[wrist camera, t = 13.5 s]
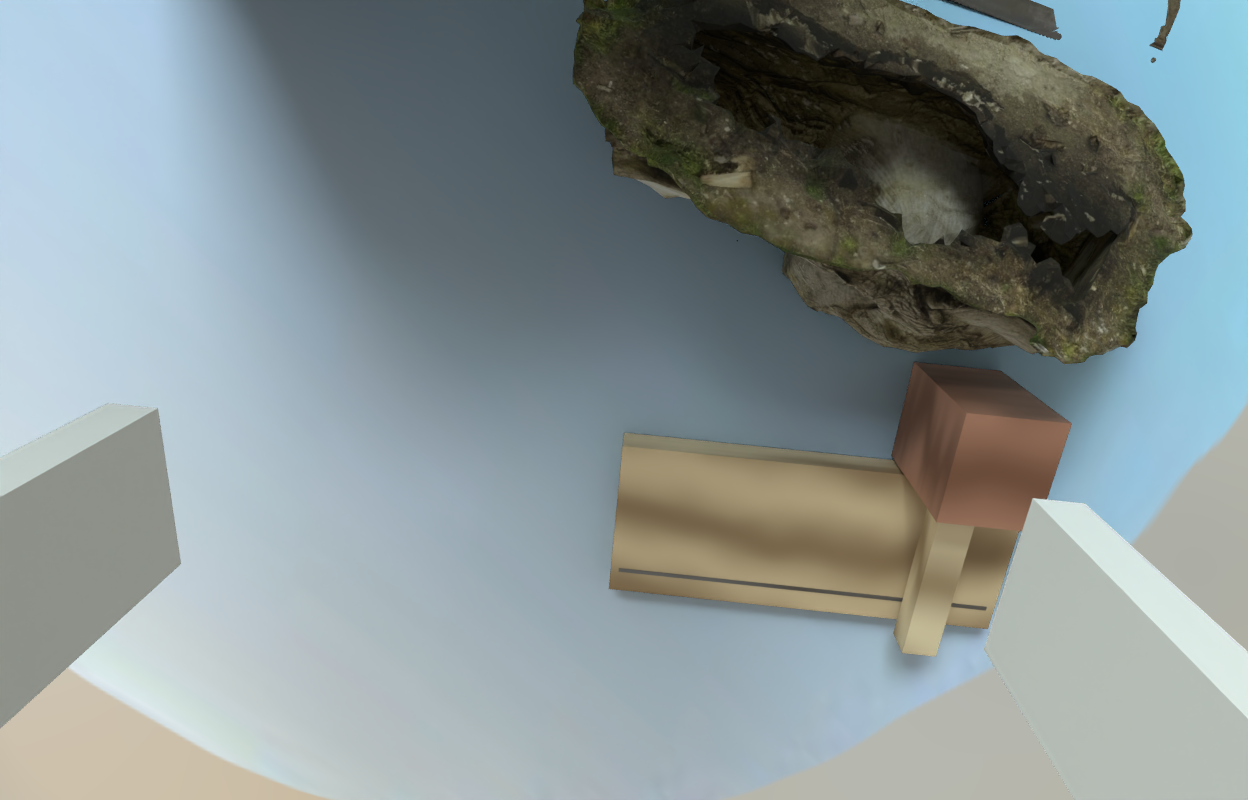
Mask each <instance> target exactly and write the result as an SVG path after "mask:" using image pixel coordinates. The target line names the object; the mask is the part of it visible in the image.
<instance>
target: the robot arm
mask: <svg viewBox="0 0 1248 800" xmlns="http://www.w3.org/2000/svg"><path fill="white" fill-rule="evenodd" d="M180 564H181V561H180V554H179V547H178V541H177V534H176V527H175V520H174V514H173V507H172V500H171V493H170V487H169V480H168V473H167V467H166V460H165V453H164V446H163V440H162V433H161V426H160V419H159V413H158V408H150V407H141V406H131V405H121V404H111V403H107V404H105V405H103V406H101V407H99V408H97V409H95V410H93V411H91V412H89V413H87V414H85V415H83V416H82V417H80V418H78V419H76V420H74V421H72V422H70V423H68V424H66V425H64V426H62V427H60V428H58V429H56V430H54V431H52V432H50V433H48V434H46V435H44V436H42V437H40V438H38V439H36V440H34V441H32V442H30V443H28V444H26V445H24V446H22V447H20V448H18V449H16V450H14V451H12V452H10V453H8V454H6V455H4V456H2V457H0V728H1V727H3V726H4V725H5V724H6V723H7V722H8V721H9V720H10V719H11V718H12V717H14V716H15V715H16V714H17V713H18V712H19V711H20V710H21V709H22V708H23V707H24V706H25V705H27V704H28V703H29V702H30V701H31V700H32V699H33V698H34V697H35V696H37V695H38V694H39V693H40V692H41V691H42V690H43V689H44V688H45V687H46V686H47V685H48V684H50V683H51V682H52V681H53V680H54V679H55V678H56V677H57V676H58V675H60V674H61V673H62V672H63V671H64V670H65V669H66V668H67V667H68V666H69V665H71V664H72V663H73V662H74V661H75V660H76V659H77V658H78V657H79V656H80V655H82V654H83V653H84V652H85V651H86V650H87V649H88V648H89V647H90V646H91V645H93V644H94V643H95V642H96V641H97V640H98V639H99V638H100V637H101V636H102V635H104V634H105V633H106V632H107V631H108V630H109V629H110V628H111V627H112V626H113V625H114V624H116V623H117V622H118V621H119V620H120V619H121V618H122V617H123V616H124V615H125V614H127V613H128V612H129V611H130V610H131V609H132V608H133V607H134V606H135V605H136V604H138V603H139V602H140V601H141V600H142V599H143V598H144V597H145V596H146V595H147V594H149V593H150V592H151V591H152V590H153V589H154V588H155V587H156V586H157V585H158V584H159V583H161V582H162V581H163V580H164V579H165V578H166V577H167V576H168V575H169V574H170V573H172V572H173V571H174V570H175V569H176V568H177V567H178V566H179V565H180ZM984 651H985V652H986V654H987V656H988V657H989V659H990V661H991V662H992V664H993V666H994V667H995V669H996V671H997V672H998V674H999V676H1000V677H1001V679H1002V680H1003V682H1004V684H1005V685H1006V687H1007V689H1008V690H1009V692H1010V694H1011V695H1012V697H1013V699H1014V700H1015V702H1016V704H1017V705H1018V707H1019V709H1020V710H1021V712H1022V714H1023V715H1024V717H1025V719H1026V720H1027V722H1028V724H1029V725H1030V727H1031V729H1032V730H1033V732H1034V734H1035V735H1036V737H1037V739H1038V740H1039V742H1040V743H1041V745H1042V747H1043V749H1044V750H1045V752H1046V754H1047V755H1048V757H1049V759H1050V760H1051V762H1052V763H1053V765H1054V767H1055V768H1056V770H1057V772H1058V773H1059V775H1060V777H1061V778H1062V780H1063V782H1064V783H1065V785H1066V786H1067V788H1068V790H1069V792H1070V793H1071V795H1072V797H1073V798H1074V800H1248V652H1247V651H1246V650H1245V649H1244V648H1243V647H1242V646H1241V645H1240V644H1239V643H1238V642H1236V641H1235V640H1234V639H1233V638H1232V637H1231V636H1230V635H1229V634H1228V633H1227V632H1226V631H1224V630H1223V629H1222V628H1221V627H1220V626H1219V625H1218V624H1217V623H1216V622H1215V621H1213V620H1212V619H1211V618H1210V617H1209V616H1208V615H1207V614H1206V613H1205V612H1203V611H1202V610H1201V609H1200V608H1199V607H1198V606H1197V605H1196V604H1195V603H1194V602H1193V601H1191V600H1190V599H1189V598H1188V597H1187V596H1186V595H1185V594H1184V593H1183V592H1181V591H1180V590H1179V589H1178V588H1177V587H1176V586H1175V585H1174V584H1173V583H1172V582H1170V580H1168V579H1167V578H1166V577H1165V576H1164V575H1163V574H1162V573H1161V572H1159V570H1157V569H1156V568H1155V567H1154V566H1153V565H1152V564H1151V563H1150V562H1148V560H1146V559H1145V558H1144V557H1143V556H1142V555H1141V554H1140V553H1139V552H1137V551H1136V550H1135V549H1134V548H1133V547H1132V546H1131V545H1130V544H1129V543H1128V542H1127V541H1126V540H1124V539H1123V538H1122V537H1121V536H1120V535H1119V534H1118V533H1117V532H1116V531H1115V530H1113V529H1112V528H1111V527H1110V526H1109V525H1108V524H1107V523H1106V522H1105V521H1104V520H1103V519H1101V518H1100V517H1099V516H1098V515H1097V514H1096V513H1095V512H1094V511H1093V510H1092V509H1090V508H1089V507H1088V506H1087V505H1086V504H1085V503H1075V502H1065V501H1055V500H1046V499H1036V498H1033V499H1032V502H1031V505H1030V508H1029V511H1028V514H1027V517H1026V521H1025V524H1024V527H1023V530H1022V533H1021V536H1020V539H1019V542H1018V545H1017V548H1016V551H1015V555H1014V558H1013V561H1012V564H1011V567H1010V570H1009V573H1008V576H1007V579H1006V582H1005V586H1004V589H1003V592H1002V595H1001V598H1000V601H999V604H998V607H997V610H996V613H995V617H994V620H993V623H992V626H991V629H990V632H989V635H988V638H987V641H986V644H985V648H984Z"/></svg>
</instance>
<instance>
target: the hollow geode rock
mask: <svg viewBox="0 0 1248 800" xmlns="http://www.w3.org/2000/svg"><path fill="white" fill-rule="evenodd" d="M583 2H584V12H583V13H582V14H581V15H580V16H579V18H578V19H577V20H576V22H577V23H579V24H580V28H579V31H578V33H577V41H576V45H575V50H574V67H573V84H574V85H575V86H576V87H577V88H579V89H580V90H581V91H582V92H583V94H584V95H585V97H586V99H587V101H588V103H589V104H590V107H591V109H592V111H593V113H594V114H595V116H596V118H597V119H598V121H599V122H600V124H601V126H603V127H604V128H605V135H606V141H610V142H611V146H612V147H613V153H612V163H613V171H614V175H617V176H623V177H628V178H633V179H636V180H638V181H640V182H642V183H644V184H646V185H648V186H649V187H651V188H652V189H653V190H655V191H656V192H657V193H659V194H660V195H661V196H663V197H664V198H665V199H667V198H673V197H683V198H686V199H691V200H692V202H693V203H694V204H695V206H696V207H697V208H698V209H699V210H700V211H701V212H702V213H703V214H704V215H705V216H706V217H707V218H710V219H714V220H717V221H720V222H724V223H727V224H729V225H730V226H732V227H733V228H735V229H736V230H738V231H739V232H741V233H745V234H750V235H756V236H759V237H760V238H762V239H764V240H766V241H767V242H769V243H771V244H772V245H774V246H776V247H777V248H779V249H781V250H782V251H784V252H786V253H785V255H784V258H783V267H782V273H783V274H784V275H785V276H786V277H787V278H788V279H790V280H791V282H792V284H793V286H794V287H795V289H796V291H797V292H798V294H799V295H800V297H801V298H802V300H803V301H804V302H805V304H806V305H807V306H808V307H810V308H812V309H814V310H815V311H822V312H824V313H826V314H831V315H835V316H838V317H840V318H842V319H843V320H844V321H845V322H846V323H848V324H849V325H850V326H851V327H852V328H854V329H855V330H856V331H857V332H858V333H859V334H861V335H862V336H863V337H865V338H867V339H869V340H871V341H873V342H875V343H877V344H879V345H881V346H883V347H893V348H898V349H903V350H907V351H911V352H916V353H918V352H925V351H935V350H943V349H953V348H956V349H961V350H977V349H983V348H988V347H991V348H995V347H1002V346H1011V345H1016V346H1018V347H1020V348H1021V349H1023V350H1025V351H1027V352H1029V353H1031V354H1034V353H1037V352H1039V353H1040V354H1041V355H1042V356H1051V357H1056V358H1057V359H1058V360H1060V361H1061V362H1062V363H1063V364H1072V363H1081V362H1085V361H1086V359H1087V358H1088V357H1089V356H1093V355H1103V354H1104V353H1106V352H1108V351H1111V350H1113V349H1115V348H1117V347H1120V346H1121V347H1125V348H1127V347H1128V346H1130V345H1131V344H1132V343H1133V342H1134V341H1135V338H1136V335H1137V332H1136V329H1135V327H1136V322H1137V317H1138V313H1139V309H1140V308H1141V307H1143V306H1144V305H1145V304H1147V294H1148V291H1149V290H1150V288H1151V287H1152V285H1153V281H1154V276H1155V272H1156V269H1157V267H1158V265H1159V264H1160V263H1161V262H1162V261H1163V260H1164V259H1165V258H1166V257H1168V256H1169V255H1170V254H1172V253H1174V252H1177V251H1179V250H1181V249H1184V248H1185V247H1186V245H1187V243H1188V242H1189V241H1190V239H1191V236H1192V229H1191V227H1190V226H1189V225H1188V223H1187V222H1186V221H1185V220H1184V219H1182V218H1181V215H1182V214H1183V213H1184V212H1185V202H1186V201H1185V199H1184V197H1183V191H1184V187H1185V184H1184V178H1183V174H1182V172H1181V171H1180V169H1179V167H1178V165H1177V164H1176V162H1175V161H1174V159H1173V157H1172V156H1171V155H1170V154H1169V152H1168V151H1167V149H1166V147H1165V140H1164V138H1163V137H1162V135H1161V133H1160V132H1159V130H1158V129H1157V127H1156V126H1155V124H1154V123H1153V122H1152V121H1151V120H1150V119H1149V118H1148V117H1147V116H1146V115H1145V114H1144V113H1143V111H1142V110H1141V109H1140V107H1139V106H1136V105H1134V104H1132V103H1130V102H1128V101H1127V100H1126V99H1125V98H1124V97H1123V95H1122V94H1121V92H1119V91H1118V90H1117V89H1115V88H1113V87H1112V86H1110V85H1108V84H1106V83H1104V82H1103V81H1101V80H1099V79H1097V78H1094V77H1092V76H1087V75H1082V74H1080V73H1078V72H1076V71H1074V70H1073V69H1071V68H1070V67H1068V66H1067V65H1065V64H1063V63H1062V62H1060V61H1059V60H1058V59H1057V58H1054V57H1050V56H1047V55H1044V54H1043V53H1041V52H1039V51H1038V50H1037V48H1036V47H1035V46H1034V45H1033V44H1032V43H1031V42H1030V41H1028V40H1025V39H1023V38H1021V37H1019V36H1017V35H1015V36H1001V35H998V34H995V33H992V32H989V31H985V30H982V29H979V28H975V27H970V26H961V25H956V24H952V23H950V22H948V21H946V20H944V19H942V18H939V17H937V16H935V15H933V14H932V13H930V12H928V11H927V10H925V9H922V8H920V7H918V6H915V5H911V4H908V3H905V2H902V1H900V0H607V1H606V2H605V1H604V0H583ZM999 195H1001V196H1000V197H999V198H998V199H996V200H995V201H993V202H992V203H990V204H989V205H987V206H986V207H985V208H984V205H983V203H984V202H987V201H989V200H991V199H993V198H995V197H997V196H999ZM983 218H986V219H988V222H987V226H985V223H984V220H983ZM737 241H738V240H737Z"/></svg>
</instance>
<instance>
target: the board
mask: <svg viewBox="0 0 1248 800" xmlns="http://www.w3.org/2000/svg"><path fill="white" fill-rule="evenodd" d="M926 510H927V507H926V506H925V505H924V503H923V502H922V500H921V499H920V497H919V496H918V494H917V493H916V491H915V490H914V488H913V487H912V485H911V484H910V482H909V481H908V479H907V478H906V476H905V475H904V473H903V472H902V470H901V469H900V468H899V466H898V465H897V463H896V462H895V460H888V459H878V458H868V457H859V456H849V455H839V454H829V453H819V452H810V451H800V450H790V449H780V448H770V447H761V446H751V445H741V444H731V443H721V442H712V441H702V440H692V439H682V438H673V437H663V436H653V435H643V434H633V433H624V440H623V448H622V458H621V468H620V479H619V489H618V500H617V510H616V521H615V531H614V542H613V552H612V562H611V573H610V583H609V589H616V590H625V591H635V592H644V593H654V594H663V595H673V596H682V597H691V598H701V599H710V600H720V601H729V602H738V603H748V604H757V605H767V606H776V607H786V608H795V609H804V610H814V611H823V612H833V613H842V614H852V615H861V616H870V617H880V618H889V619H897V618H898V615H899V611H900V607H901V603H902V600H903V596H904V592H905V589H906V585H907V581H908V577H909V574H910V570H911V566H912V562H913V559H914V555H915V551H916V548H917V544H918V540H919V536H920V533H921V529H922V525H923V521H924V518H925V514H926ZM1018 533H1019V531H1014V530H1005V529H995V528H986V527H976V526H975V527H974V530H973V533H972V537H971V540H970V543H969V547H968V550H967V554H966V557H965V560H964V564H963V567H962V570H961V574H960V577H959V580H958V584H957V587H956V591H955V594H954V597H953V601H952V604H951V607H950V611H949V614H948V617H947V621H946V625H955V626H965V627H974V628H983V629H988V627H989V623H990V620H991V617H992V614H993V611H994V608H995V605H996V602H997V599H998V595H999V592H1000V589H1001V586H1002V583H1003V580H1004V577H1005V574H1006V571H1007V567H1008V564H1009V561H1010V558H1011V555H1012V552H1013V549H1014V546H1015V543H1016V539H1017V536H1018Z"/></svg>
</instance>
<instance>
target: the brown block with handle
mask: <svg viewBox="0 0 1248 800" xmlns="http://www.w3.org/2000/svg"><path fill="white" fill-rule="evenodd" d="M1071 425H1072V424H1071V423H1070V422H1069V421H1067V420H1066V419H1065V418H1063V417H1062V416H1061V415H1059V414H1058V413H1057V412H1055V411H1054V410H1053V409H1051V408H1050V407H1049V406H1047V405H1046V404H1045V403H1043V402H1042V401H1041V400H1039V399H1038V398H1037V397H1035V396H1034V395H1033V394H1031V393H1030V392H1028V391H1027V390H1026V389H1024V388H1023V387H1022V386H1020V385H1019V384H1018V383H1016V382H1015V381H1014V380H1012V379H1011V378H1010V377H1008V376H1007V375H1006V374H1004V373H1003V372H1002V371H998V370H988V369H978V368H968V367H958V366H948V365H938V364H928V363H918V362H914V364H913V368H912V372H911V377H910V381H909V385H908V389H907V393H906V397H905V402H904V406H903V410H902V414H901V418H900V422H899V426H898V431H897V435H896V439H895V443H894V447H893V451H892V455H891V456H892V457H893V459H894V460H895V462H896V463H897V465H898V466H899V468H900V469H901V470H902V472H903V473H904V475H905V476H906V478H907V479H908V481H909V482H910V484H911V485H912V487H913V488H914V490H915V491H916V493H917V494H918V496H919V497H920V499H921V500H922V502H923V503H924V505H925V506H926V507H927V510H926V514H925V518H924V521H923V525H922V529H921V533H920V536H919V540H918V544H917V548H916V551H915V555H914V559H913V562H912V566H911V570H910V574H909V577H908V581H907V585H906V589H905V592H904V596H903V600H902V603H901V607H900V611H899V615H898V618H897V622H896V626H895V630H894V636H895V638H896V640H897V642H898V645H899V647H900V649H901V651H902V653H907V654H917V655H926V656H935V657H936V654H937V651H938V648H939V644H940V641H941V638H942V634H943V631H944V628H945V624H946V621H947V617H948V614H949V611H950V607H951V604H952V601H953V597H954V594H955V591H956V587H957V584H958V580H959V577H960V574H961V570H962V567H963V564H964V560H965V557H966V554H967V550H968V547H969V543H970V540H971V537H972V533H973V530H974V527H975V526H976V527H986V528H995V529H1005V530H1014V531H1022V530H1023V527H1024V524H1025V521H1026V517H1027V514H1028V511H1029V508H1030V505H1031V502H1032V499H1033V498H1036V499H1046V500H1047V497H1048V494H1049V491H1050V488H1051V485H1052V482H1053V479H1054V476H1055V473H1056V470H1057V467H1058V464H1059V461H1060V458H1061V455H1062V452H1063V449H1064V446H1065V443H1066V440H1067V437H1068V434H1069V431H1070V428H1071Z"/></svg>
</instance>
